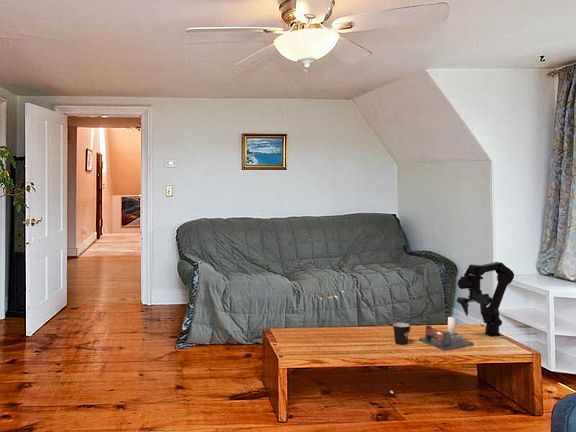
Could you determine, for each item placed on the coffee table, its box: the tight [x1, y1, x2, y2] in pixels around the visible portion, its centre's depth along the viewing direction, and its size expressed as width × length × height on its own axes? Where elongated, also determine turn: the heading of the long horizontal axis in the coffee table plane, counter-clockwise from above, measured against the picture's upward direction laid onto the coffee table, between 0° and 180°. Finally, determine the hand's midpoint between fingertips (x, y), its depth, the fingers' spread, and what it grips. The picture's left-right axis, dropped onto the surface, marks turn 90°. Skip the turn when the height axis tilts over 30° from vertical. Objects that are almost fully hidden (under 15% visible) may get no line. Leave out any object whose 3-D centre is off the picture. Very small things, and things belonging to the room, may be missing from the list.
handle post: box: [447, 316, 457, 336], centre depth 283 cm, size 4×4×12 cm
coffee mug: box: [392, 322, 411, 346], centre depth 282 cm, size 12×9×10 cm
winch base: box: [418, 324, 475, 352], centre depth 281 cm, size 20×20×8 cm
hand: (474, 315), depth 289 cm, fingers open, 9 cm apart
